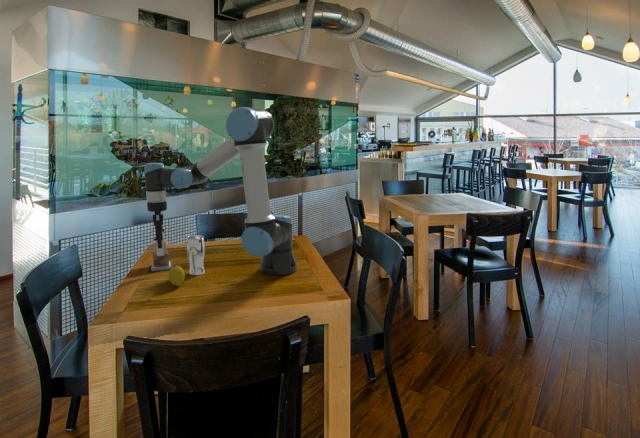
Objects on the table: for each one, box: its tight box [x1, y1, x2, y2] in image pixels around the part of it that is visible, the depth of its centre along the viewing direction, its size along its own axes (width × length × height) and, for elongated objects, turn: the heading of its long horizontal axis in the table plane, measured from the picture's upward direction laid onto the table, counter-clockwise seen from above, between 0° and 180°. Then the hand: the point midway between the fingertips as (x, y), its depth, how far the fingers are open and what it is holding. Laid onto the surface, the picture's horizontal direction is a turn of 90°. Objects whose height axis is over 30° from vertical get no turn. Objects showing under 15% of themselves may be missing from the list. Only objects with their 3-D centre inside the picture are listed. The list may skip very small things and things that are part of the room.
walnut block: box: [152, 250, 170, 267], centre depth 178 cm, size 6×6×5 cm
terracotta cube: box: [152, 238, 168, 255], centre depth 178 cm, size 5×5×5 cm
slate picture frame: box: [150, 260, 173, 272], centre depth 179 cm, size 9×8×1 cm
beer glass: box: [186, 234, 206, 276], centre depth 170 cm, size 7×7×15 cm
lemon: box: [168, 265, 186, 287], centre depth 156 cm, size 6×6×8 cm
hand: (160, 251), depth 177 cm, fingers open, 13 cm apart
